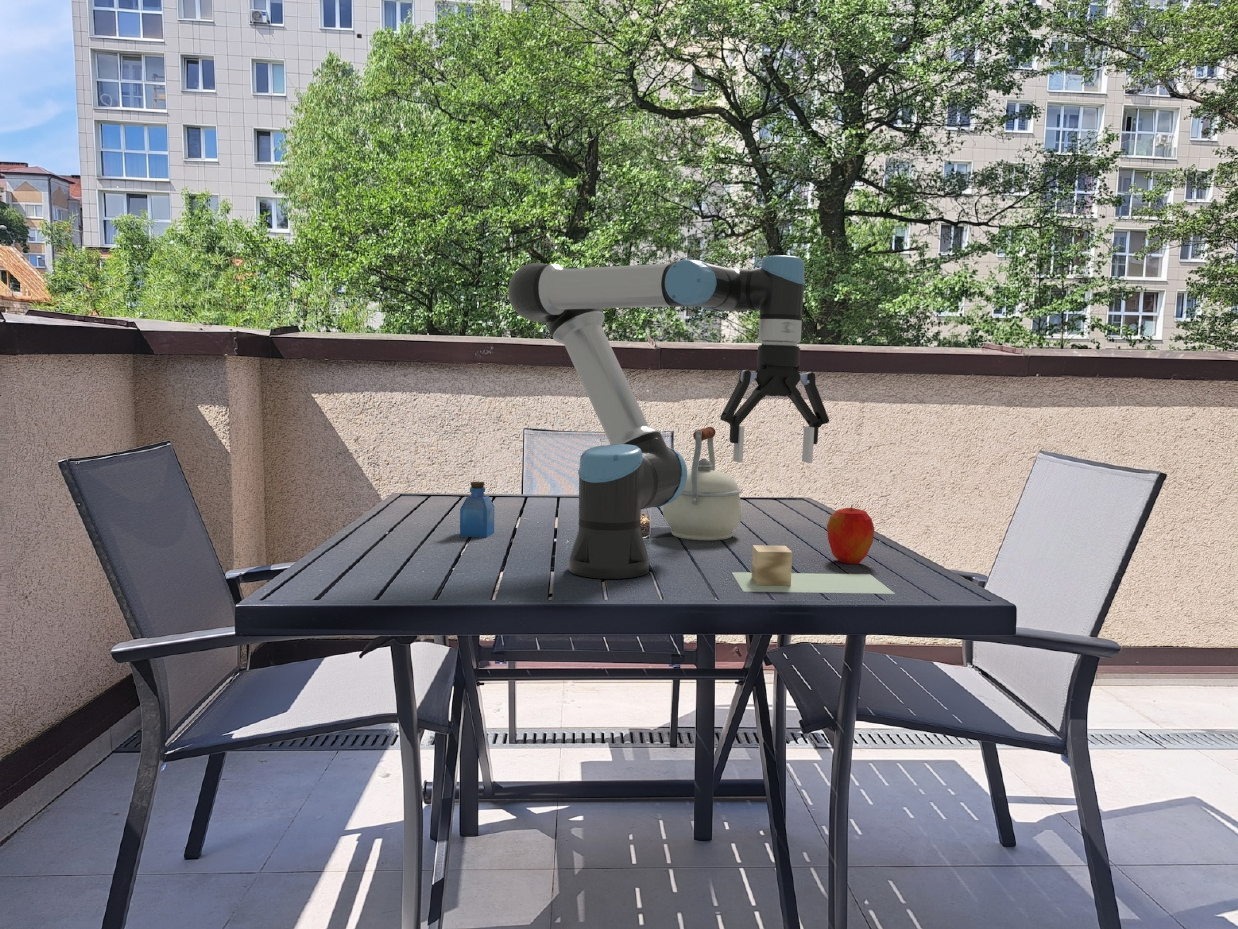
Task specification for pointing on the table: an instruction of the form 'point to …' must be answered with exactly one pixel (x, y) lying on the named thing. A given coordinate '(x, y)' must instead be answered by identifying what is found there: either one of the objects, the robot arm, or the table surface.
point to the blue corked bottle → (477, 513)
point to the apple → (850, 534)
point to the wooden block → (771, 565)
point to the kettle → (705, 499)
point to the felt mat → (818, 583)
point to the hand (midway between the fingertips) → (772, 462)
